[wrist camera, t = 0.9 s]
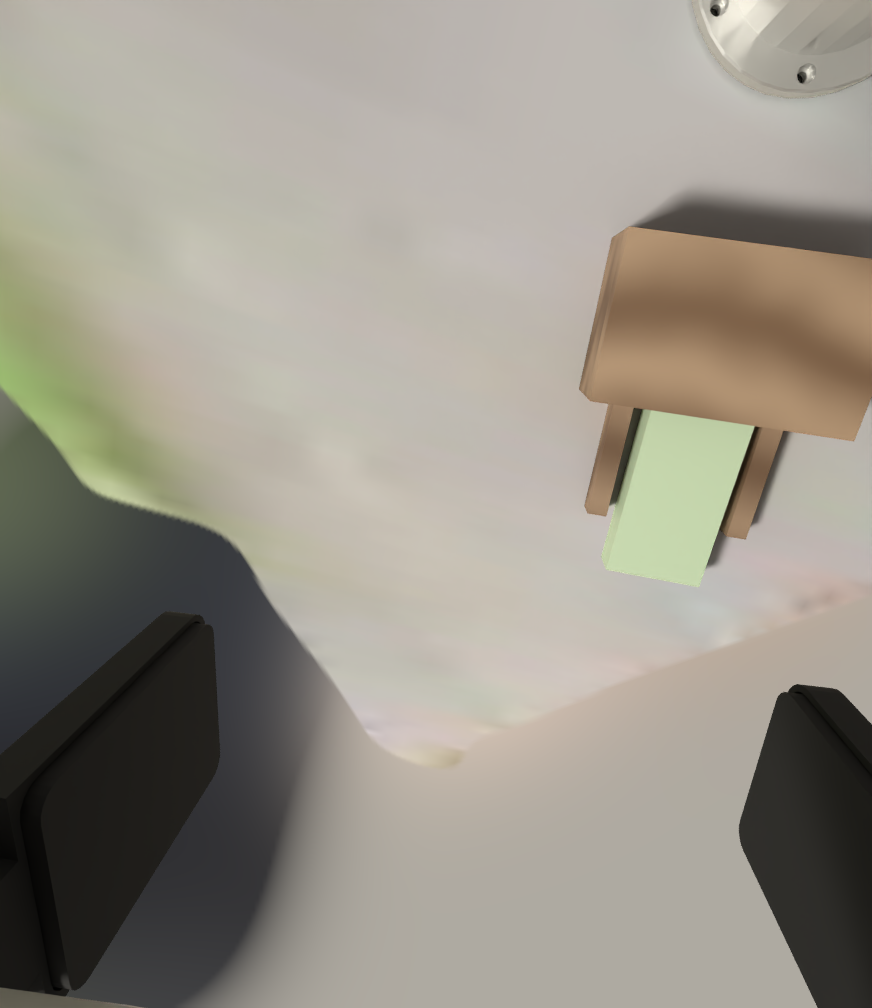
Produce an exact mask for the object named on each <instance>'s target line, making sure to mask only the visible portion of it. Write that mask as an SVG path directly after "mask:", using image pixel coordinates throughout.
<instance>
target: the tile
mask: <svg viewBox="0 0 872 1008" xmlns="http://www.w3.org/2000/svg"><path fill="white" fill-rule="evenodd" d="M754 427H755V426H750V425H744V424H737V423H731V422H724V421H718V420H711V419H705V418H698V417H692V416H685V415H678V414H672V413H665V412H659V411H652V410H646V409H642V411H641V415H640V419H639V422H638V426H637V429H636V433H635V437H634V440H633V444H632V448H631V451H630V455H629V458H628V462H627V466H626V469H625V473H624V476H623V480H622V484H621V487H620V491H619V494H618V498H617V502H616V505H615V509H614V512H613V516H612V520H611V523H610V527H609V530H608V534H607V538H606V541H605V545H604V548H603V552H602V556H601V558H602V560H603V563H604V565H605V568H606V570H610V571H616V572H621V573H626V574H632V575H637V576H642V577H647V578H653V579H658V580H663V581H669V582H674V583H679V584H685V585H690V586H695V587H699V585H700V582H701V579H702V577H703V574H704V571H705V568H706V565H707V562H708V559H709V556H710V554H711V551H712V548H713V545H714V542H715V539H716V536H717V533H718V530H719V528H720V525H721V522H722V519H723V516H724V513H725V510H726V507H727V505H728V502H729V499H730V496H731V493H732V490H733V487H734V484H735V481H736V479H737V476H738V473H739V470H740V467H741V464H742V461H743V458H744V456H745V453H746V450H747V447H748V444H749V441H750V438H751V435H752V433H753V430H754Z"/></svg>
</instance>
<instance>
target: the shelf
mask: <svg viewBox="0 0 872 1008" xmlns="http://www.w3.org/2000/svg"><path fill="white" fill-rule="evenodd" d="M579 390H580V391H581V392H582V393H583V394H584V395H585V396H586V397H587V398H588V399H589V400H590V401H593V402H600V403H606V404H609V405H608V409H607V413H606V417H605V422H604V426H603V430H602V434H601V438H600V443H599V447H598V451H597V455H596V459H595V464H594V468H593V472H592V476H591V480H590V485H589V489H588V493H587V497H586V501H585V508H586V511H587V513H589V514H595V515H601V516H606V515H607V511H608V507H609V503H610V500H611V496H612V492H613V488H614V484H615V480H616V476H617V472H618V468H619V464H620V460H621V456H622V452H623V448H624V444H625V440H626V436H627V432H628V428H629V424H630V421H631V417H632V413H633V409H634V408H639V409H646V410H652V411H659V412H665V413H672V414H678V415H685V416H692V417H698V418H705V419H711V420H718V421H724V422H731V423H737V424H744V425H750V426H755V427H754V430H753V433H752V435H751V438H750V441H749V444H748V447H747V450H746V453H745V456H744V458H743V461H742V464H741V467H740V470H739V473H738V476H737V479H736V481H735V484H734V487H733V490H732V493H731V496H730V499H729V502H728V505H727V507H726V510H725V513H724V516H723V519H722V522H721V525H720V528H719V529H720V530H721V531H722V532H723V533H724V534H725V535H726V536H728V537H734V538H740V539H746V537H747V534H748V531H749V528H750V526H751V523H752V520H753V517H754V514H755V511H756V508H757V505H758V502H759V500H760V497H761V494H762V491H763V488H764V485H765V482H766V479H767V477H768V474H769V471H770V468H771V465H772V462H773V459H774V456H775V453H776V451H777V448H778V445H779V442H780V439H781V436H782V433H783V431H790V432H796V433H803V434H809V435H816V436H822V437H829V438H836V439H842V440H849V441H854V440H855V438H856V435H857V433H858V430H859V427H860V425H861V422H862V420H863V417H864V415H865V412H866V410H867V407H868V405H869V402H870V399H871V397H872V259H870V258H862V257H855V256H847V255H840V254H832V253H825V252H817V251H810V250H802V249H795V248H787V247H780V246H772V245H765V244H757V243H750V242H742V241H735V240H727V239H720V238H712V237H705V236H697V235H690V234H682V233H675V232H667V231H660V230H652V229H645V228H637V227H630V226H629V227H628V228H626V229H625V230H623V231H622V232H620V233H619V234H617V235H616V236H614V237H613V238H612V240H611V245H610V250H609V254H608V259H607V263H606V268H605V272H604V277H603V282H602V286H601V291H600V295H599V300H598V304H597V309H596V314H595V318H594V323H593V327H592V332H591V337H590V341H589V346H588V350H587V355H586V359H585V364H584V369H583V373H582V378H581V382H580V387H579Z"/></svg>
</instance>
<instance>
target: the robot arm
mask: <svg viewBox="0 0 872 1008" xmlns="http://www.w3.org/2000/svg"><path fill="white" fill-rule="evenodd" d="M692 6H693V9H694V13H695V16H696V20H697V24H698V27H699V31H700V33H701V35H702V37H703V39H704V41H705V43H706V45H707V47H708V49H709V51H710V53H711V54H712V55H713V56H714V57H715V59H716V60H717V61H718V62H719V64H720V65H721V66H722V67H723V68H724V70H725V71H726V72H728V73H729V74H730V75H731V76H733V77H734V78H735V79H737V80H738V81H739V82H741V83H742V84H743V85H745V86H747V87H750V88H752V89H754V90H756V91H759V92H761V93H763V94H766V95H772V96H777V97H783V98H813V97H817V96H821V95H825V94H830V93H834V92H838V91H840V90H842V89H845V88H847V87H849V86H851V85H854V84H856V83H858V82H861V81H863V80H864V79H866V78H868V77H869V76H871V75H872V0H692ZM711 9H716V10H717V12H718V16H717V17H716V16H713V15H712V14H711V12H710V10H711ZM797 75H800V76H801V77H802V78H803V81H802V83H800V82H799V81H798V79H797ZM219 758H220V743H219V725H218V707H217V687H216V669H215V650H214V633H213V628H212V626H210V625H207V624H205V622H204V620H203V617H202V616H200V615H196V614H187V613H178V612H164V613H163V614H161V615H160V616H159V617H158V618H157V619H155V620H154V621H153V622H152V623H151V624H150V625H149V626H147V627H146V628H145V629H144V630H143V631H142V632H141V633H139V634H138V635H137V636H136V637H135V638H134V639H132V640H131V641H130V642H129V643H128V644H127V645H126V646H124V647H123V648H122V649H121V650H120V651H119V652H118V653H116V654H115V655H114V656H113V657H112V658H111V659H110V660H108V661H107V662H106V663H105V664H104V665H103V666H102V667H100V668H99V669H98V670H97V671H96V672H95V673H94V674H92V675H91V676H90V677H89V678H88V679H87V680H85V681H84V682H83V683H82V684H81V685H80V686H79V687H77V689H75V690H74V691H73V692H72V693H71V694H70V695H68V696H67V697H66V698H65V699H64V700H63V701H61V702H60V703H59V704H58V705H57V706H56V707H55V708H53V709H52V710H51V711H50V712H49V713H48V714H46V716H44V717H43V718H42V719H41V720H40V721H38V722H37V723H36V724H35V725H34V726H33V727H32V728H30V729H29V730H28V731H27V732H26V733H25V734H24V735H22V736H21V737H20V738H19V739H18V740H17V741H16V742H14V743H13V744H12V745H11V746H10V747H9V748H8V749H6V750H5V751H4V752H3V753H2V754H1V755H0V1008H142V1007H136V1006H130V1005H123V1004H115V1003H108V1002H101V1001H94V1000H86V999H79V998H72V997H65V996H66V995H67V993H68V992H69V990H77V989H79V988H80V987H81V986H82V985H83V984H84V983H85V982H86V981H87V979H88V978H89V977H90V975H91V974H92V972H93V970H94V969H95V967H96V966H97V964H98V962H99V961H100V959H101V957H102V955H103V954H104V952H105V951H106V949H107V948H108V946H109V945H110V943H111V941H112V940H113V938H114V936H115V935H116V933H117V932H118V930H119V928H120V927H121V925H122V924H123V922H124V920H125V919H126V917H127V916H128V914H129V912H130V911H131V909H132V907H133V906H134V904H135V902H136V901H137V899H138V898H139V896H140V895H141V893H142V891H143V890H144V888H145V886H146V885H147V883H148V882H149V880H150V878H151V877H152V875H153V873H154V872H155V870H156V868H157V867H158V866H159V864H160V862H161V861H162V859H163V857H164V856H165V854H166V853H167V851H168V849H169V848H170V846H171V845H172V843H173V841H174V840H175V838H176V836H177V835H178V833H179V832H180V830H181V828H182V826H183V825H184V824H185V822H186V820H187V819H188V817H189V815H190V814H191V812H192V811H193V809H194V807H195V806H196V804H197V803H198V801H199V799H200V798H201V796H202V795H203V793H204V791H205V790H206V788H207V787H208V785H209V783H210V782H211V780H212V778H213V777H214V775H215V773H216V770H217V767H218V763H219ZM739 836H740V842H741V846H742V848H743V851H744V853H745V855H746V857H747V859H748V861H749V863H750V865H751V868H752V870H753V872H754V874H755V876H756V878H757V880H758V882H759V885H760V886H761V889H762V891H763V893H764V895H765V897H766V899H767V901H768V904H769V906H770V908H771V910H772V912H773V914H774V916H775V918H776V920H777V923H778V925H779V927H780V929H781V931H782V933H783V935H784V937H785V939H786V942H787V944H788V946H789V948H790V950H791V952H792V954H793V956H794V959H795V961H796V963H797V965H798V967H799V969H800V971H801V973H802V975H803V978H804V980H805V982H806V984H807V986H808V988H809V990H810V992H811V995H812V997H813V999H814V1001H815V1003H816V1005H817V1007H818V1008H872V724H871V723H870V722H869V721H868V720H867V719H866V718H865V717H864V716H863V715H862V714H861V713H860V712H859V711H858V709H856V707H855V706H854V705H853V704H852V703H851V702H850V701H849V700H848V699H847V698H846V697H845V696H844V695H843V694H842V693H841V692H840V691H839V690H837V689H833V688H825V687H816V686H807V685H799V684H797V685H794V686H792V687H791V688H790V689H789V691H788V692H784V693H781V694H780V695H779V696H778V698H777V701H776V704H775V707H774V710H773V714H772V717H771V720H770V723H769V727H768V730H767V733H766V737H765V740H764V744H763V747H762V750H761V753H760V757H759V760H758V763H757V767H756V770H755V773H754V777H753V780H752V783H751V787H750V790H749V793H748V797H747V800H746V803H745V806H744V810H743V813H742V816H741V820H740V824H739Z"/></svg>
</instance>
